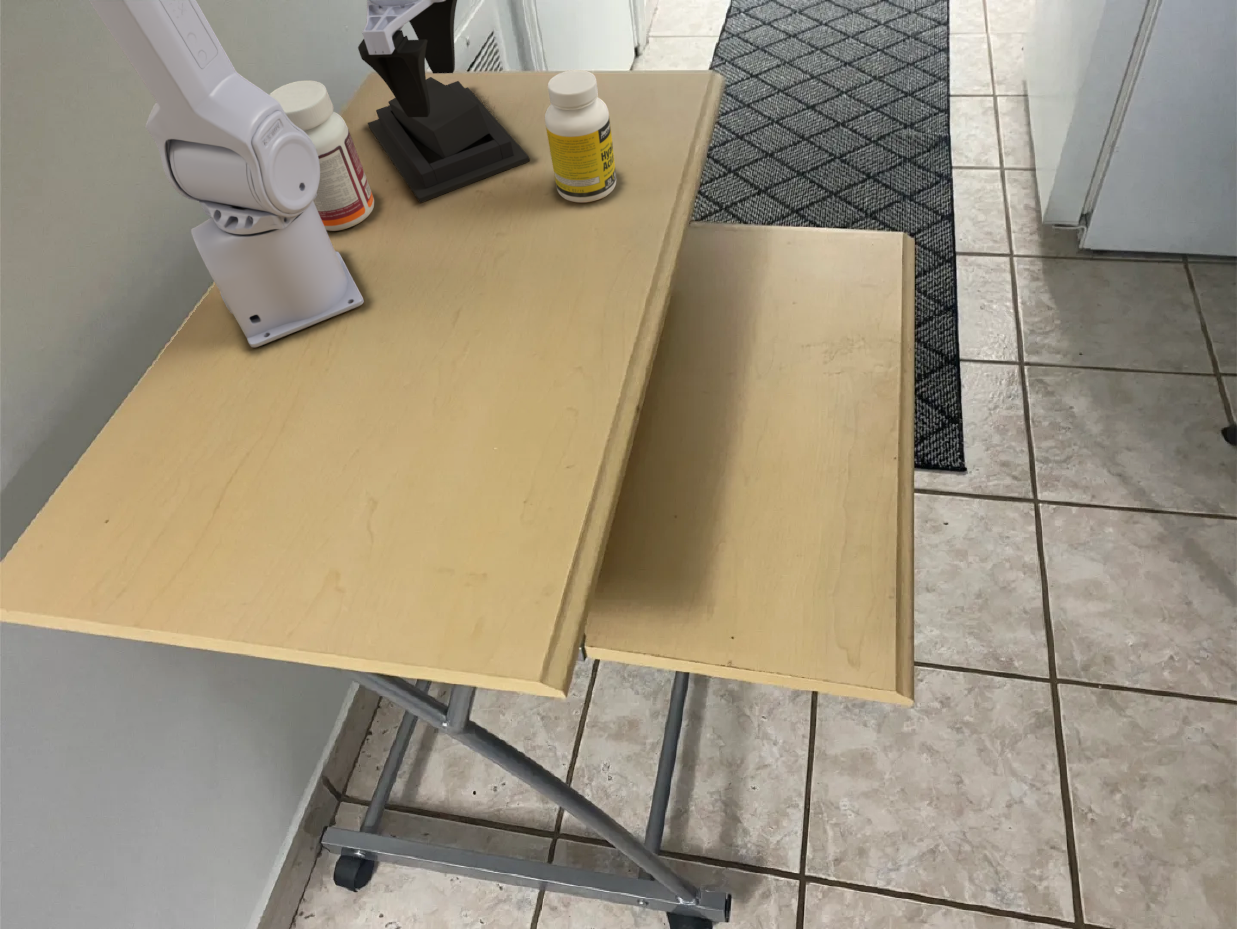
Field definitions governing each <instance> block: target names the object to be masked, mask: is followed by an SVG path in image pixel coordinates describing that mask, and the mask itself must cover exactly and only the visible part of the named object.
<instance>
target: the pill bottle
mask: <svg viewBox="0 0 1237 929" xmlns="http://www.w3.org/2000/svg"><path fill="white" fill-rule="evenodd" d="M268 94H269V95H270V96H271V97H273V98H274V99H276V100H277V101H278V102H279V103H280V104H281V106H282V108H283V110H284V112H285V114H286V115H287V117H288V118H289V119H290V121H291V122H292V123H293V124H294V125H296V126H297V127H299V128H300V129H302V130H303V131H304V132H305V133H306V134H307V135H308V136H309V137H310V139H311V140H312V142H313V144H314V146H315V148H316V151H317V154H318V158H319V164H320V181H319V186H318V190H317V196H316V198H315V199H314V200H313V201H314V204H315V206H316V208H317V211H318V213H319V215H320V218H321V220H322V222H323V224H324V227H325V229H326V231H327V232H328V231H329V232H336V231H343V230H347V229H350V228H352V227H354V226H357V225H359V224H360V223H361V222H363V221H365V220H366V219H367V218H368V217H369V216H370V215H371V213H372V212H373V210H374V207H375V198H374V195H373V192H372V188H371V187H370V183H369V181H368V179H367V175H366V173H365V170H364V168H363V164H362V162H361V160H360V157H359V155H358V152H357V149H356V146H355V143H354V141H353V138H352V136H351V133H350V128H349V127H348V126H347V123H346V121H345V119H344V118H343V117H342V116H341V115H340V114H339V113H337V112H336V111H334V110H335V109H334V104H333V101H332V100H331V98H330V95H329V92H328V90H327V87H326V86H325V85H324V84H323V83H322V82H319V81H316V80H310V79H309V80H297V81H293V82H289V83H285V84H284V85H281V86H279V87H277V88H275V89H274V90H273V91H271V92H270V93H268Z"/></svg>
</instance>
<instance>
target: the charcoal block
mask: <svg viewBox="0 0 1237 929" xmlns="http://www.w3.org/2000/svg"><path fill="white" fill-rule="evenodd" d="M426 83H427V89H428V94H429V100H430V114H429V116H428V117H407V115H406V114H405V112H404V111H403V109H402V108H401V106H400V104H399V103H398V101H397V99H396V98H395V97H393V98H392V99H390V100H388V102H387V103H388V105H390V107H391V109H392V111H393V113H394V115H395V117H396V119H397V121H398V122H399V124H400V125H401V126H402V128H403V129H404V130H405V132H406V133H408V134H409V135H411V136H412V137H413V138H415V139H416V140H418V141H419V142H421V143H422V144H424V145H425V146H426V147H428V148H429V149H431V150H432V151H434V152H435V153H437V154H438V155H440V156H441V157H442V158H447V157H449V156H452V155H455V154H456V153H458V152H460V151H461V150H463V149H465V148H466V147H468V146H469V145H471V144H473V143H474V142H476V141H478V140H479V139H481V138H482V137H484V136H486V135H487V134H489V133H490V132H489V130H488V127H487V125H486V122H485V120H484V117H483V115H482V112H481V110H480V107H479V105H478V104H477V103H476V102H474V101H472V100H470V99H469V98H467V97H465V96H463V95H462V94H460V93H458V92H456V91H455V90H453V89H451V88H449V87H448V86H446V85H447V84H444V83H443V82H442V81H440V80H437V79H435V78H434V77H432V76H429V77H428V78H426Z"/></svg>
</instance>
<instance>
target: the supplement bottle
mask: <svg viewBox="0 0 1237 929" xmlns="http://www.w3.org/2000/svg"><path fill="white" fill-rule="evenodd" d="M547 92H548V97H549V102H550V104H549V106H548V107H547V109H546V111H545V114H544V123H545V130H546V136H547V141H548V146H549V152H550V158H551V163H552V170H553V176H554V182H555V186H556V190H557V192H558V194H559V195H560V196H561V197H562V198H563V199H564V200H566V201H569V202H573V203H580V204H581V203H591V202H595V201H598V200H601V199H603V198H605V197H607V196H608V195H609V194H611V193H612V192H613V190H614V189H615V187H616V185H617V170H616V162H615V154H614V146H613V136H612V128H611V127H612V126H611V120H610V112H609V107H608V106H607V104H606V103H605V101H604V100H602V98H600V97H599V94H598V93H599V89H598V82H597V77H596V75H594V73H592V72H590V71H588V70H584V69H569V70H565V71H561V72H559V73H557V74H556V75H553V76H552V77H551V78H550V79H549V81H548V82H547Z"/></svg>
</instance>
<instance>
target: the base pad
mask: <svg viewBox="0 0 1237 929" xmlns="http://www.w3.org/2000/svg"><path fill="white" fill-rule="evenodd" d="M445 85H446V86H448V87H449V88H451V89H453V90H455V91H456V92H458V93H460V94H462V95H463V96H465V97H467V98H469V99H470V100H472V101H474V102H476V103H477V104H478V105H479V107H480V110H481V112H482V115H483V117H484V120H485V122H486V125H487V127H488V130H489V132H490V133H489V134H487V135H486V136H484V137H482V138H481V139H479V140H478V141H476V142H474V143H473V144H471V145H469V146H468V147H466V148H465V149H463V150H461V151H460V152H458V153H456V154H455V155H452V156H449V157H447V158H442V157H441V156H440V155H438V154H437V153H435V152H434V151H432V150H431V149H429V148H428V147H426V146H425V145H424V144H422V143H421V142H419V141H418V140H416V139H415V138H413V137H412V136H411V135H409V134H408V133H406V132H405V130H404V129H403V128H402V126H401V125H400V124H399V122H398V121H397V119H396V117H395V115H394V113H393V111H392V109H391V107H390V105H389V104H388V105H387V106H383V107H380V108H377V109H376V110H375V113H376V115H377V119H375V120H372V121H369V122H367V126H368V128H369V129H370V131H371V132H372V134H373V135H374V137H375V138H376V140H377V141H378V143H379V145H380V146H381V148H383V150H384V152H385V153H386V155H387V156H388V158H389V159H390V161H391V162H392V163H393V165H394V166H395V168H396V170H397V171H398V173H399V174H400V176H401V177H402V178H403V181H404V182H405V183H406V184H407V186H408V188H409V189H410V190H411V192H412V194H413V195H414V196H415V198H416V199H417V201H418V202H419V203H421V204H422V203H424V202H426V201H429V200H433V199H434V198H437V197H440V196H442V195H445V194H448V193H450V192H453V191H456V190H458V189H461V188H464V187H466V186H468V185H469V186H470V185H472V184H473V183H476V182H479V181H481V180H484V179H487V178H489V177H492V176H495V175H497V174H500V173H503V172H505V171H507V170H510V169H513V168H515V167H518V166H520V165H524V164H526V163H529V162H530V161H531V160H530V156H529V155H528V153H526V151H524V149H523V148H522V147H521V146H520V145H519V144H518V143H517V141H516V140H515V139H514V138H513V137H512V136H511V134H510V133H509V132H508V131H507V130H506V129H505V128H504V127H503V125H502V124H501V123H500V121H498V119H497V118H495V116H494V115H493V114H492V113H491V112H490V110H488V108H487V107H486V106H485V105H484V104H483V103H482V101H480V99H479V98H478V97H477V96H476V95H475V94H474V92H473V91H472V90H471V89H470V88H469V87H468V86H467V87H464V86H463V85H462V83H461V82H460V80H456V81H453V82H451V83H448V84H445Z"/></svg>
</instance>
